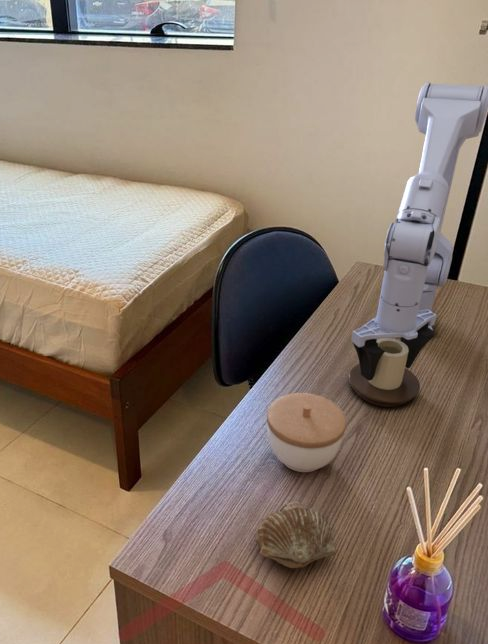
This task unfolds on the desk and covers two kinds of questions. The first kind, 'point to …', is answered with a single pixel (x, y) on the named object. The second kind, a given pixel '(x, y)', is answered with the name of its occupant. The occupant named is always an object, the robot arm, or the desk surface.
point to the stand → (382, 396)
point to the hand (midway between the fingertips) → (385, 370)
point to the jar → (390, 364)
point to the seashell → (295, 536)
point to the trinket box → (305, 430)
